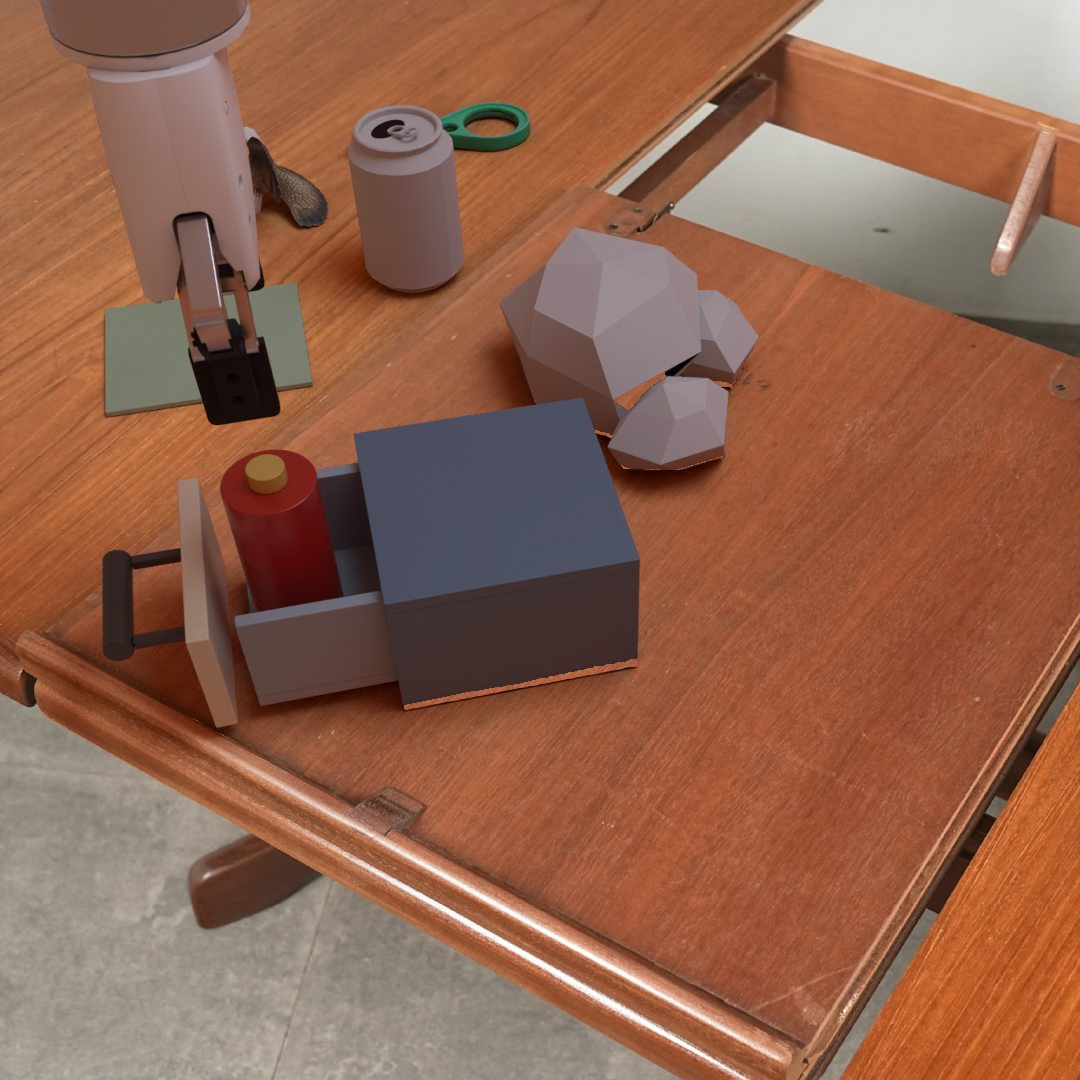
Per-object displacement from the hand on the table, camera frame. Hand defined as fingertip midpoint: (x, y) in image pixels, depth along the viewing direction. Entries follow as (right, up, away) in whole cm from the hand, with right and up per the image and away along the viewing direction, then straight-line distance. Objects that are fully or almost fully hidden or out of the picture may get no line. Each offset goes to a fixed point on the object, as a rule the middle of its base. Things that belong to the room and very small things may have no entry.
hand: (239, 350), depth 65 cm
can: (+2, +14, +40) cm, 43 cm away
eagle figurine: (-10, +20, +46) cm, 51 cm away
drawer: (-2, -13, +15) cm, 20 cm away
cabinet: (+11, -12, +18) cm, 24 cm away
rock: (+18, +3, +31) cm, 36 cm away
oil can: (0, -12, +15) cm, 19 cm away
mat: (-12, +7, +34) cm, 37 cm away
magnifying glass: (+3, +28, +53) cm, 60 cm away
